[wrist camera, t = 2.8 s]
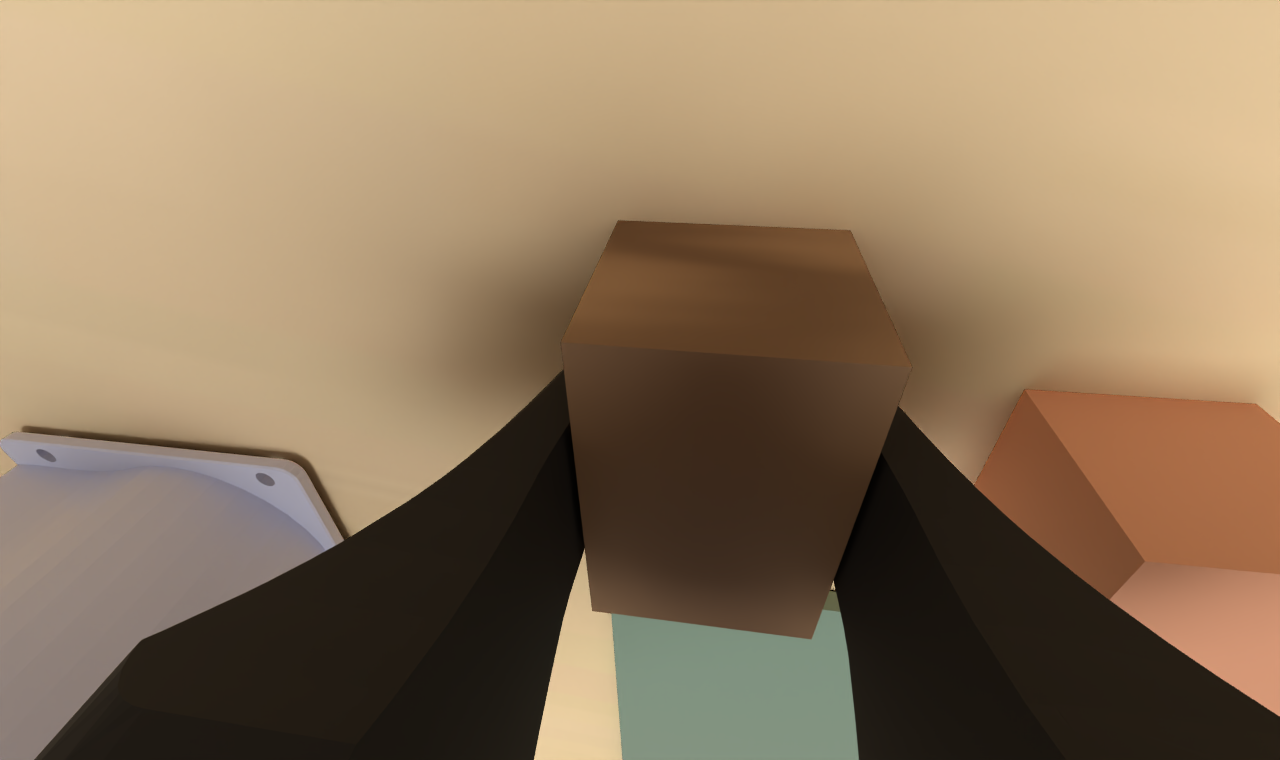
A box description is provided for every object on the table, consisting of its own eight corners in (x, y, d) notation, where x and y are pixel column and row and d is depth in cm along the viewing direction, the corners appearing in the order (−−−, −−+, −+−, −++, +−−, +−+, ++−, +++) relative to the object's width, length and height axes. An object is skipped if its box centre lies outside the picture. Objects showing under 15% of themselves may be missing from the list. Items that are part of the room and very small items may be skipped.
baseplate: (626, 768, 26) (624, 783, 26) (612, 565, 16) (609, 583, 15) (904, 813, 25) (907, 830, 24) (1087, 621, 14) (1099, 644, 14)
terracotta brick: (928, 564, 14) (985, 733, 11) (1021, 385, 11) (1144, 561, 7) (1093, 580, 14) (1202, 762, 11) (1250, 399, 10) (1487, 594, 7)
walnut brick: (626, 458, 13) (591, 610, 10) (618, 220, 10) (560, 342, 6) (792, 474, 13) (811, 639, 10) (850, 230, 9) (912, 367, 6)
